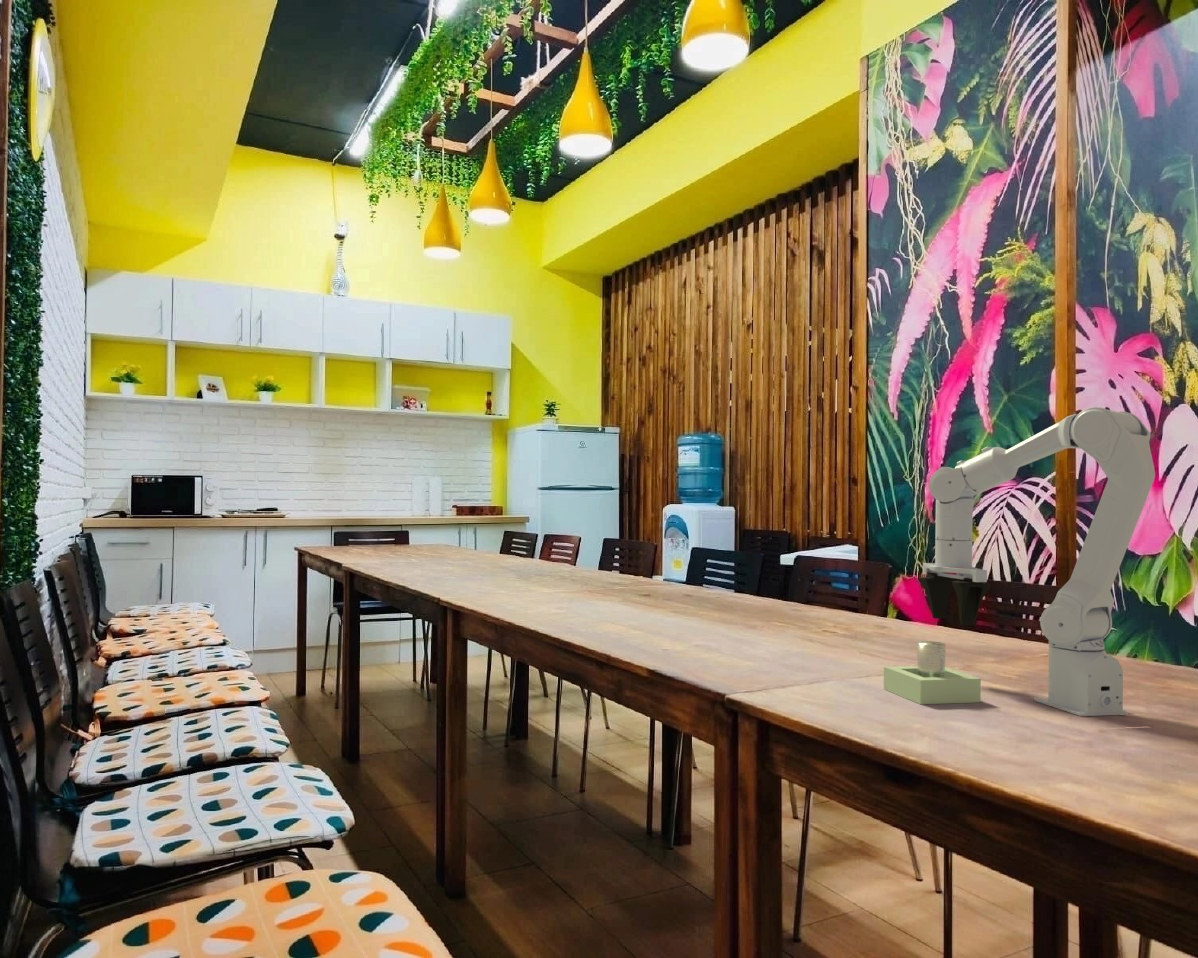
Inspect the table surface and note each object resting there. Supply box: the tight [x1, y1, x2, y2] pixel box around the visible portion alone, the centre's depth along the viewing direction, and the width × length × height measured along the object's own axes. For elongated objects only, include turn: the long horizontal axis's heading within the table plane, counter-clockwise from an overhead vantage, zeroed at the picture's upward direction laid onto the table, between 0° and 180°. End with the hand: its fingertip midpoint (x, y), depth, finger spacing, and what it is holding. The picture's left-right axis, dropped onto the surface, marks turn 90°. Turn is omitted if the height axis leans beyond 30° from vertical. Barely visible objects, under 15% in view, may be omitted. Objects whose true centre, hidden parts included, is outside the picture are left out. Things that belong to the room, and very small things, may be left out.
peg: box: [916, 640, 946, 678], centre depth 130 cm, size 4×4×8 cm
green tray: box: [883, 665, 982, 705], centre depth 130 cm, size 10×10×4 cm
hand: (952, 621), depth 141 cm, fingers open, 7 cm apart
